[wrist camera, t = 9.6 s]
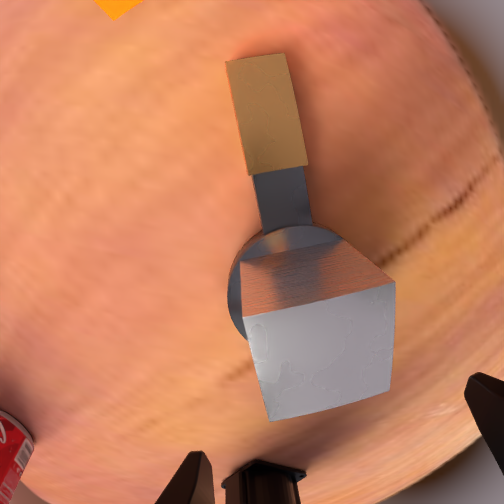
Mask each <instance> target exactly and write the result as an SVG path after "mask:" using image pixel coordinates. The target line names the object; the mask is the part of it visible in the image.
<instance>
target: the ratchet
mask: <svg viewBox="0 0 504 504" xmlns="http://www.w3.org/2000/svg"><path fill="white" fill-rule="evenodd" d="M225 66H226V73H227V78H228V83H229V87H230V92H231V97H232V102H233V106H234V111H235V116H236V121H237V126H238V130H239V135H240V140H241V145H242V150H243V155H244V160H245V165H246V169H247V174H248V175H252V180H253V185H254V190H255V195H256V201H257V206H258V211H259V216H260V221H261V226H262V231H261V232H259V233H257V234H256V235H255V236H253V237H252V238H251V239H250V240H249V241H248V242H247V243H246V244H245V245H244V246H243V247H242V249H241V250H240V251H239V253H238V254H237V256H236V258H235V259H234V262H233V264H232V266H231V270H230V273H229V279H228V292H227V299H228V308H229V313H230V316H231V319H232V321H233V323H234V325H235V327H236V328H237V330H238V331H239V332H240V334H241V335H242V336H243V337H244V338H245V339H246V340H247V341H248V338H247V334H246V330H245V326H244V322H243V318H242V298H241V276H240V260H245V259H250V258H254V257H259V256H264V255H269V254H274V253H279V252H283V251H288V250H293V249H298V248H303V247H307V246H312V245H317V244H322V243H327V242H331V241H336V240H341V239H343V238H342V237H340V236H339V235H338V234H336V233H335V232H334V231H332V230H330V229H329V228H327V227H325V226H322V225H320V224H317V223H313V222H312V218H311V211H310V205H309V199H308V193H307V187H306V181H305V175H304V169H303V166H304V165H308V160H307V154H306V149H305V144H304V139H303V133H302V128H301V123H300V118H299V114H298V109H297V104H296V100H295V95H294V91H293V86H292V82H291V77H290V73H289V69H288V65H287V61H286V57H285V53H279V54H271V55H263V56H256V57H249V58H243V59H237V60H231V61H226V62H225ZM347 243H348V242H347Z"/></svg>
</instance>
